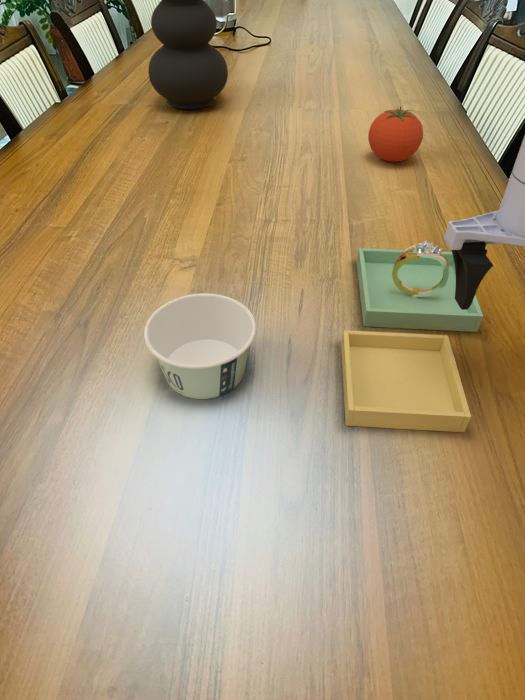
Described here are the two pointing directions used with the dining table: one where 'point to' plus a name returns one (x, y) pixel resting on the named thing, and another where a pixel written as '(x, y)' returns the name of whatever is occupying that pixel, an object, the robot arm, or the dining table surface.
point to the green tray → (400, 308)
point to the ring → (423, 252)
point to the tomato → (395, 135)
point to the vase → (186, 54)
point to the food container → (201, 343)
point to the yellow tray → (402, 382)
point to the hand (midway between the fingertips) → (496, 301)
